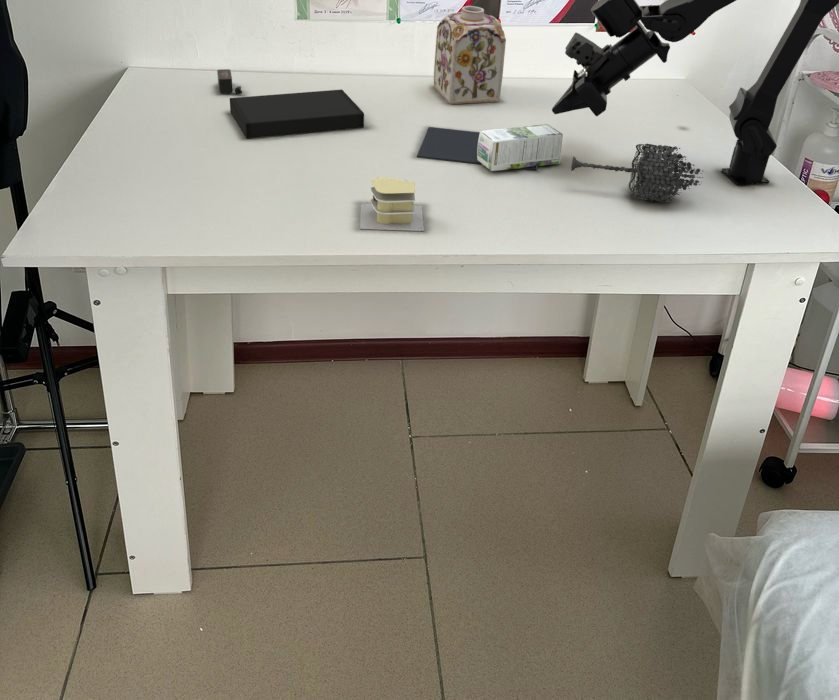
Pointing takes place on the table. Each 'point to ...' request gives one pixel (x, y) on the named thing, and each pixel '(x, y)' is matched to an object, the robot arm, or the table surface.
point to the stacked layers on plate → (392, 206)
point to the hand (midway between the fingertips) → (553, 111)
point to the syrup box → (519, 147)
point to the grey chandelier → (654, 172)
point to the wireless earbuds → (226, 82)
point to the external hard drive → (295, 113)
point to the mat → (452, 146)
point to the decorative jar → (469, 57)
